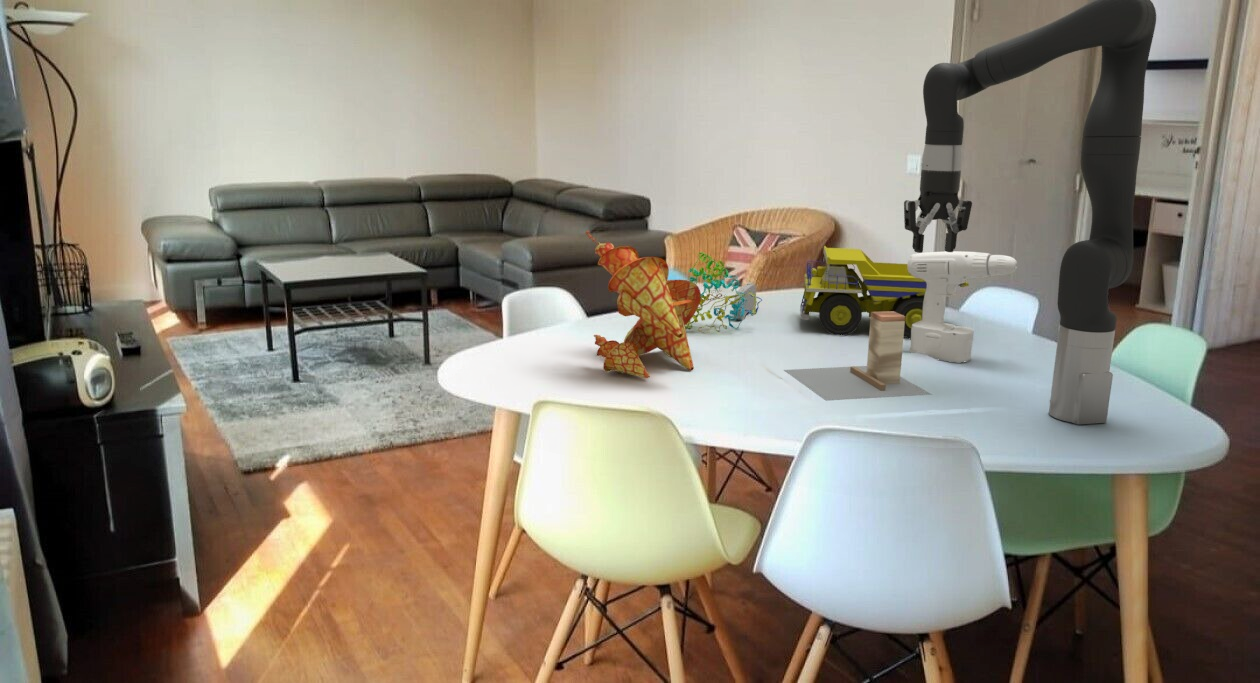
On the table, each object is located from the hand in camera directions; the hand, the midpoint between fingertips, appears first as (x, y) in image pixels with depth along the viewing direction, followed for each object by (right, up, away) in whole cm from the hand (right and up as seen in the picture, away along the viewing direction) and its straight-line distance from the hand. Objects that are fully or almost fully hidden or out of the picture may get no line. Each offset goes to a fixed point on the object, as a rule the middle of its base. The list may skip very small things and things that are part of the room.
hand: (933, 251), depth 190 cm
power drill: (+13, -22, +26) cm, 37 cm away
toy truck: (+3, -15, +56) cm, 58 cm away
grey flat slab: (-30, -11, +70) cm, 77 cm away
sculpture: (-57, -23, +18) cm, 65 cm away
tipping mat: (-15, -27, +3) cm, 32 cm away
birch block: (-9, -26, +4) cm, 28 cm away
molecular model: (-40, -15, +53) cm, 68 cm away
